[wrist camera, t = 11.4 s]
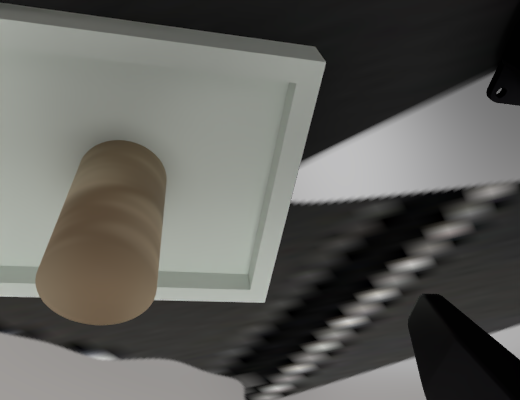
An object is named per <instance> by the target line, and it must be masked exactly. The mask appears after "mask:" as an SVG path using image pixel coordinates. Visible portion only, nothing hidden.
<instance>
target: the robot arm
mask: <svg viewBox="0 0 520 400" xmlns="http://www.w3.org/2000/svg"><path fill="white" fill-rule="evenodd" d="M500 88H502V90H501V91H500V93H498V94H496V92H497V91H498V90H499V89H500ZM487 96H488V98H490V99H491V100H492V101H494V102H496V103H504V104H512V105H519V106H520V20H519V22H518V25H517V27H516V29H515V31H514V33H513V35H512V37H511V39H510V41H509V44H508V46H507V48H506V50H505V52H504V54H503V56H502V59H501V61H500V63H499V65H498V67H497V69H496V72H495V74H494V76H493V78H492V80H491V82H490V84H489V87H488V88H487ZM408 328H409V332H410V337H411V341H412V345H413V349H414V353H415V358H416V362H417V365H418V370H419V374H420V379H421V382H422V386H423V390H424V393H425V396H426V399H427V400H520V360H519V359H518V358H517V357H516V356H514V355H513V354H512V353H511V352H509V351H508V350H507V349H506V348H504V347H503V346H502V345H501V344H500V343H499V342H497V341H496V340H495V339H494V338H493V337H491V336H490V335H489V334H488V333H486V332H485V331H484V330H483V329H482V328H480V327H479V326H478V325H477V324H476V323H474V322H473V321H472V320H471V319H469V318H468V317H467V316H466V315H465V314H463V313H462V312H461V311H460V310H459V309H457V308H456V307H455V306H454V305H452V304H451V303H450V302H449V301H448V300H446V299H445V298H444V297H443V296H441V295H439V294H422V295H420V296H419V298H418V300H417V302H416V304H415V306H414V308H413V310H412V312H411V314H410V316H409V319H408Z"/></svg>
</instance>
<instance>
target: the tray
mask: <svg viewBox="0 0 520 400" xmlns="http://www.w3.org/2000/svg"><path fill="white" fill-rule="evenodd" d="M325 65H326V61H325V60H324V59H323V57H322V56H321V54H320V53H319V51H318V50H317V49H316V47H314V46H307V45H300V44H293V43H286V42H278V41H271V40H264V39H257V38H250V37H243V36H236V35H229V34H221V33H214V32H207V31H200V30H193V29H186V28H179V27H172V26H164V25H157V24H150V23H143V22H136V21H129V20H122V19H115V18H107V17H100V16H93V15H86V14H79V13H72V12H65V11H57V10H50V9H43V8H36V7H29V6H22V5H15V4H8V3H0V296H4V297H40V296H39V294H38V292H37V289H36V283H35V279H36V273H37V271H38V268H39V266H40V263H41V260H42V258H43V255H44V253H45V250H46V248H47V245H48V243H49V240H50V238H51V235H52V233H53V230H54V228H55V225H56V223H57V220H58V218H59V215H60V212H61V210H62V207H63V205H64V202H65V200H66V197H67V195H68V192H69V190H70V187H71V185H72V182H73V180H74V177H75V175H76V172H77V170H78V167H79V165H80V162H81V160H82V158H83V156H84V155H85V154H86V153H87V152H88V151H89V150H90V149H91V148H93V147H94V146H96V145H98V144H100V143H103V142H106V141H112V140H125V141H131V142H134V143H137V144H140V145H142V146H144V147H146V148H147V149H149V150H150V151H152V152H153V153H154V154H155V155H156V156H157V157H158V158H159V159H160V161H161V162H162V164H163V166H164V168H165V171H166V177H167V182H166V193H165V204H164V215H163V226H162V237H161V248H160V259H159V270H158V281H157V291H156V296H155V298H154V300H175V301H217V302H260V303H265V300H266V296H267V292H268V288H269V284H270V280H271V276H272V272H273V268H274V264H275V260H276V257H277V253H278V249H279V245H280V241H281V237H282V233H283V229H284V225H285V221H286V217H287V214H288V210H289V206H290V202H291V198H292V194H293V190H294V186H295V182H296V178H297V174H298V170H299V167H300V163H301V159H302V155H303V151H304V147H305V143H306V139H307V135H308V131H309V127H310V124H311V120H312V116H313V112H314V108H315V104H316V100H317V96H318V92H319V88H320V84H321V81H322V77H323V73H324V69H325Z"/></svg>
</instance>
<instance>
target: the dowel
mask: <svg viewBox="0 0 520 400" xmlns="http://www.w3.org/2000/svg"><path fill="white" fill-rule="evenodd" d="M166 182H167V177H166V171H165V168H164V166H163V164H162V162H161V161H160V159H159V158H158V157H157V156H156V155H155V154H154V153H153V152H152V151H150V150H149V149H147V148H146V147H144V146H142V145H140V144H137V143H134V142H131V141H125V140H112V141H106V142H103V143H100V144H98V145H96V146H94V147H93V148H91V149H90V150H89V151H88V152H87V153H86V154H85V155H84V156H83V158H82V160H81V162H80V165H79V167H78V170H77V172H76V175H75V177H74V180H73V182H72V185H71V187H70V190H69V192H68V195H67V197H66V200H65V202H64V205H63V207H62V210H61V212H60V215H59V218H58V220H57V223H56V225H55V228H54V230H53V233H52V235H51V238H50V240H49V243H48V245H47V248H46V250H45V253H44V255H43V258H42V260H41V263H40V266H39V268H38V271H37V273H36V279H35V283H36V289H37V292H38V294H39V296H40V298H41V299H42V301H43V302H44V303H45V304H46V305H47V306H48V307H49V308H50V309H51V310H53V311H54V312H56V313H57V314H59V315H61V316H63V317H65V318H67V319H69V320H72V321H75V322H79V323H83V324H90V325H112V324H118V323H122V322H125V321H128V320H131V319H133V318H135V317H137V316H139V315H140V314H142V313H143V312H144V311H146V310H147V309H148V308H149V306H150V305H151V304H152V302H153V300H154V298H155V296H156V291H157V281H158V270H159V259H160V248H161V237H162V226H163V215H164V204H165V193H166Z"/></svg>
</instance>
